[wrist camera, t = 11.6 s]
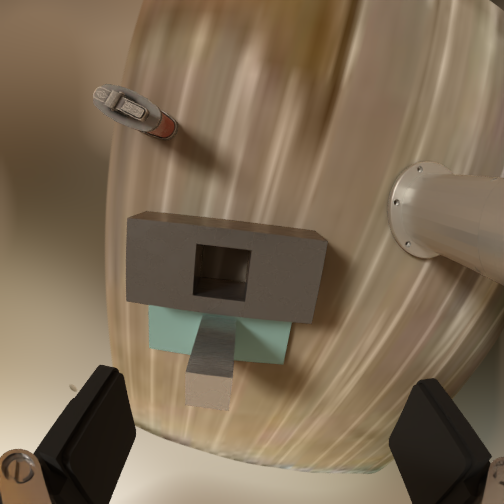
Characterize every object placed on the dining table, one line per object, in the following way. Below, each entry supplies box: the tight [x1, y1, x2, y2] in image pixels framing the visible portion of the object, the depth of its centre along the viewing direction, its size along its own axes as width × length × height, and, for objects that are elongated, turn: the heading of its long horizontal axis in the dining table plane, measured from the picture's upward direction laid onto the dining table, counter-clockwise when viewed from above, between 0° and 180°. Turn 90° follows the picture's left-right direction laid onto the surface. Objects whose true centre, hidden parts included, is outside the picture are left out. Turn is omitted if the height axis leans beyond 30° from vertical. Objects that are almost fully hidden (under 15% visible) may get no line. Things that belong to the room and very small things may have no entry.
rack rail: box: [126, 211, 328, 324], centre depth 33 cm, size 20×9×6 cm, turn 83°
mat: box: [149, 305, 292, 364], centre depth 38 cm, size 18×8×1 cm, turn 83°
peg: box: [185, 315, 236, 411], centre depth 31 cm, size 4×4×12 cm
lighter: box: [93, 84, 178, 140], centre depth 27 cm, size 8×3×10 cm, turn 59°
